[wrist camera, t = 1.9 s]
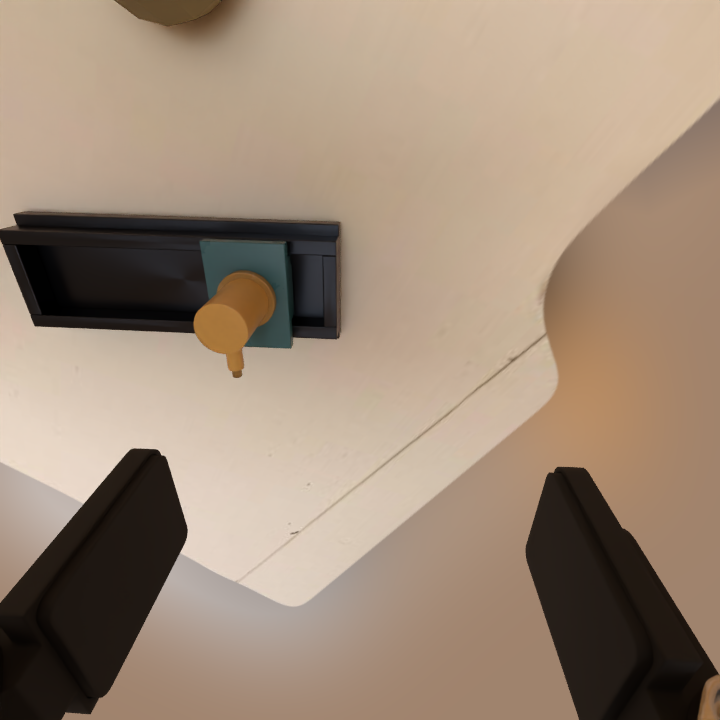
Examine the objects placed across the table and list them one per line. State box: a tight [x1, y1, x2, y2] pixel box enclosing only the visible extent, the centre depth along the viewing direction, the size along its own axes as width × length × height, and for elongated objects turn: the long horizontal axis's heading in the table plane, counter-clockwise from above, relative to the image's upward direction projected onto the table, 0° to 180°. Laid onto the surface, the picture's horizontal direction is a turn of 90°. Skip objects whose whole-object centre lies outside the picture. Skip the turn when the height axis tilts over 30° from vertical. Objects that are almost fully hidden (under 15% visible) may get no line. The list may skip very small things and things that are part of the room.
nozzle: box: [194, 239, 294, 378], centre depth 27 cm, size 6×8×8 cm
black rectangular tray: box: [0, 212, 341, 339], centre depth 31 cm, size 24×9×3 cm, turn 89°
